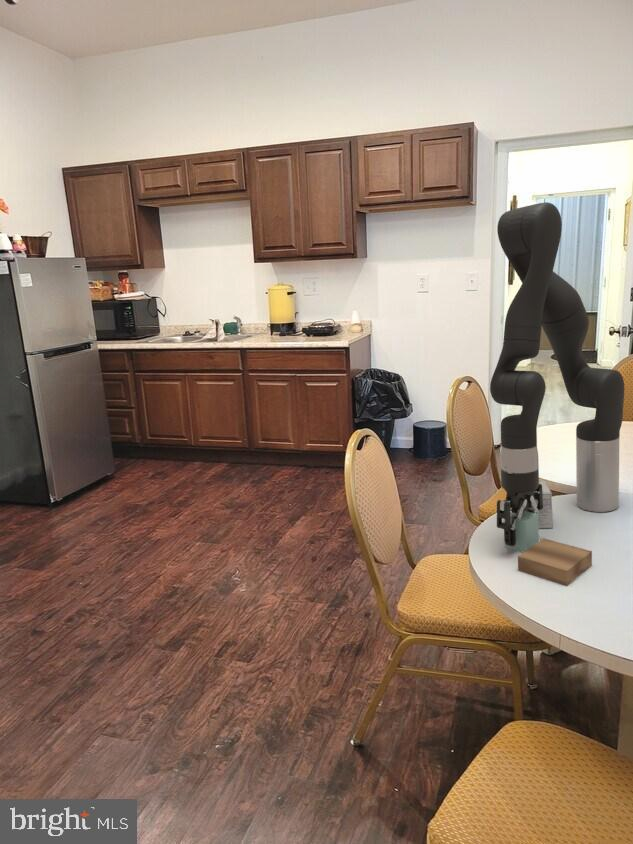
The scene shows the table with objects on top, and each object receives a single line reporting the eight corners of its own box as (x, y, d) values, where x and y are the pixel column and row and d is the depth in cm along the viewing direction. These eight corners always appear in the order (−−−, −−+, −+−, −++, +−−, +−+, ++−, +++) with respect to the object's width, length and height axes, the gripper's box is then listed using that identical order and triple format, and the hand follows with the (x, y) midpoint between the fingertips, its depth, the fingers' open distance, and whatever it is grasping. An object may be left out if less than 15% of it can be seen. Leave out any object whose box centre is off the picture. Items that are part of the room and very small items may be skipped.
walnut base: (543, 551, 127) (543, 538, 126) (591, 565, 119) (591, 551, 118) (518, 570, 120) (517, 556, 120) (567, 585, 113) (566, 571, 112)
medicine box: (553, 529, 136) (552, 492, 134) (532, 529, 137) (531, 493, 135) (547, 515, 144) (546, 480, 142) (527, 515, 145) (526, 481, 143)
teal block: (517, 538, 134) (516, 508, 132) (538, 544, 130) (538, 514, 128) (505, 546, 131) (504, 516, 129) (526, 553, 127) (525, 521, 125)
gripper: (521, 454, 133) (522, 522, 137) (484, 472, 124) (486, 545, 128) (553, 459, 128) (554, 530, 132) (517, 478, 119) (519, 554, 123)
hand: (521, 537), depth 130 cm, fingers open, 8 cm apart
